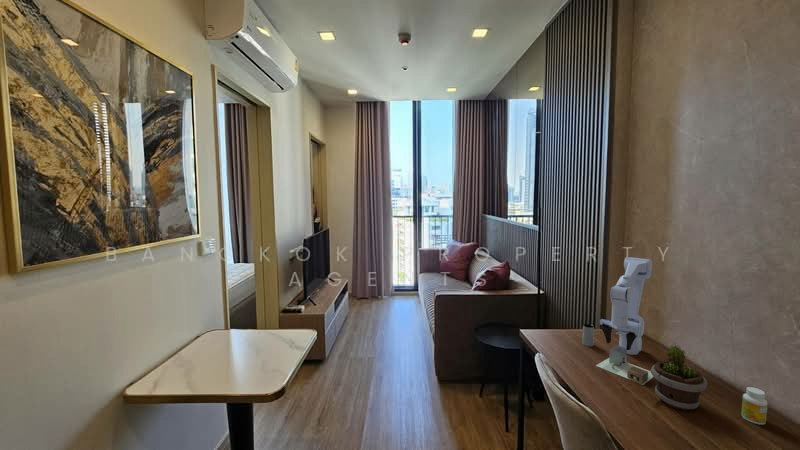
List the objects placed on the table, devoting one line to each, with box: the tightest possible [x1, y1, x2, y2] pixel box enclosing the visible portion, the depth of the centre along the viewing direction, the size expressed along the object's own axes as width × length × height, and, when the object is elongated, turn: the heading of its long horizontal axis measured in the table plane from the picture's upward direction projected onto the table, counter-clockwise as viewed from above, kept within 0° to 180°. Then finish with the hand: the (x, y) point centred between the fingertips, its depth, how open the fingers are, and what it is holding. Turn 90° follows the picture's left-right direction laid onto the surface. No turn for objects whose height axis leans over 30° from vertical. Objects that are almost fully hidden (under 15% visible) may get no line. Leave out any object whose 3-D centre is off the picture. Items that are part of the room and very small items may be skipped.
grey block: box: [608, 344, 628, 367], centre depth 139 cm, size 6×4×6 cm, turn 123°
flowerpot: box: [650, 342, 708, 411], centre depth 113 cm, size 14×15×20 cm
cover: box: [627, 366, 649, 383], centre depth 126 cm, size 5×5×3 cm
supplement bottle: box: [741, 386, 769, 425], centre depth 104 cm, size 5×5×10 cm
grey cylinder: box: [581, 323, 595, 347], centre depth 156 cm, size 4×4×10 cm
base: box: [595, 357, 654, 386], centre depth 133 cm, size 13×17×3 cm
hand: (618, 345), depth 138 cm, fingers open, 7 cm apart
